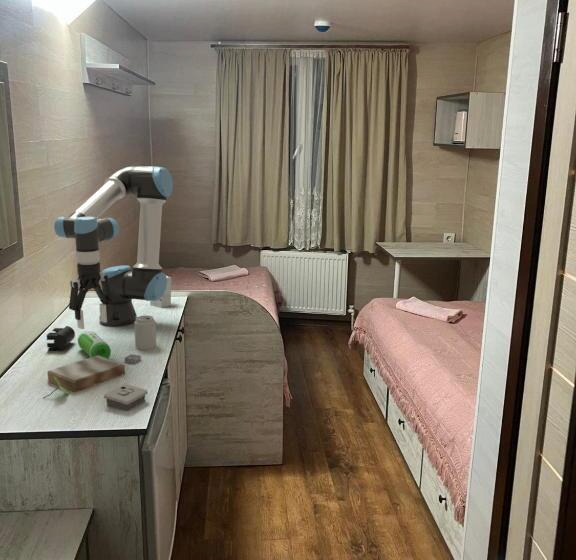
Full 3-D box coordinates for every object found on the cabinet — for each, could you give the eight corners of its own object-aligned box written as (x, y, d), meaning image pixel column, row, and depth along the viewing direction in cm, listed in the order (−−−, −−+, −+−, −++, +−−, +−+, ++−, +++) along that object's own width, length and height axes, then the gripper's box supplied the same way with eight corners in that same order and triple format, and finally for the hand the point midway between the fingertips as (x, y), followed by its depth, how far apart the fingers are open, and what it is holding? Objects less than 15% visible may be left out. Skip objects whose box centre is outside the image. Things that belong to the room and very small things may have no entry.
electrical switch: (123, 383, 187) (147, 384, 183) (126, 400, 188) (150, 401, 184) (101, 394, 179) (125, 396, 175) (104, 411, 180) (128, 413, 175)
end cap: (66, 352, 225) (65, 334, 223) (47, 351, 225) (45, 333, 223) (75, 343, 234) (74, 325, 233) (56, 342, 234) (55, 325, 233)
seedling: (56, 413, 185) (74, 398, 187) (41, 399, 180) (60, 384, 182) (46, 399, 190) (64, 385, 192) (32, 386, 184) (50, 371, 186)
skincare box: (150, 307, 284) (148, 275, 281) (160, 304, 289) (159, 273, 285) (162, 310, 279) (161, 278, 276) (172, 307, 284) (171, 276, 280)
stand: (98, 365, 212) (98, 354, 211) (124, 375, 204) (124, 364, 203) (48, 381, 198) (47, 370, 197) (74, 393, 189) (73, 381, 188)
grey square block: (131, 360, 218) (131, 354, 217) (141, 362, 216) (141, 355, 216) (124, 364, 214) (124, 357, 213) (134, 366, 213) (134, 359, 212)
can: (160, 348, 230) (159, 317, 227) (143, 353, 224) (141, 321, 222) (148, 343, 235) (147, 313, 232) (131, 348, 229) (130, 317, 227)
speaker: (76, 350, 227) (75, 331, 225) (96, 347, 231) (95, 327, 229) (91, 365, 212) (90, 344, 211) (112, 361, 216) (111, 341, 215)
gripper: (107, 255, 224) (111, 315, 229) (54, 265, 207) (59, 330, 213) (120, 258, 220) (124, 319, 225) (67, 269, 203) (72, 334, 208)
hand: (92, 324), depth 219 cm, fingers open, 9 cm apart
